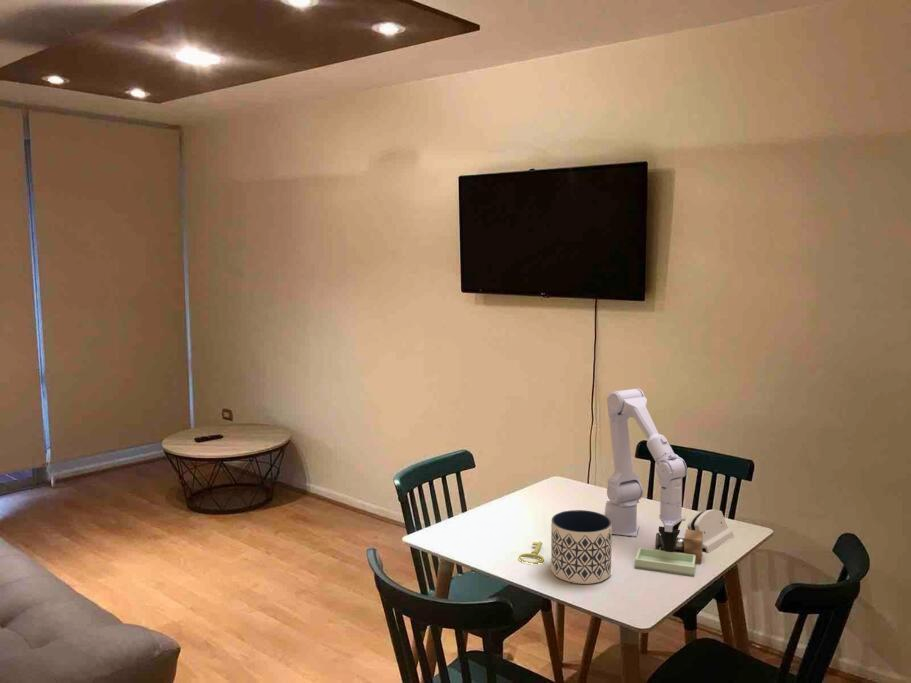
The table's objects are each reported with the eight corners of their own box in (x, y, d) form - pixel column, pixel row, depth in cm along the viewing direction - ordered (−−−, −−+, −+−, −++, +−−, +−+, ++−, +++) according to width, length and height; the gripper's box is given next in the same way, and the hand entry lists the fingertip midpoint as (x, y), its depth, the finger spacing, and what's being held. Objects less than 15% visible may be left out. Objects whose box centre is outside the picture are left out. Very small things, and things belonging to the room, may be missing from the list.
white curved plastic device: (707, 553, 206) (697, 518, 207) (693, 554, 209) (683, 519, 210) (734, 536, 217) (724, 503, 218) (720, 537, 221) (710, 505, 222)
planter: (622, 580, 190) (623, 527, 188) (566, 589, 186) (566, 535, 184) (593, 555, 205) (594, 507, 203) (541, 563, 201) (542, 513, 199)
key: (542, 547, 212) (542, 540, 212) (544, 566, 200) (544, 559, 200) (517, 547, 213) (517, 540, 212) (518, 566, 200) (518, 558, 200)
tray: (635, 568, 197) (635, 559, 197) (638, 555, 205) (638, 547, 204) (693, 576, 192) (694, 567, 191) (695, 563, 199) (695, 554, 199)
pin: (655, 552, 204) (655, 536, 204) (656, 545, 209) (657, 530, 208) (695, 557, 201) (695, 541, 200) (696, 550, 205) (696, 535, 204)
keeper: (659, 558, 203) (660, 535, 202) (661, 548, 210) (662, 526, 209) (700, 563, 199) (701, 540, 198) (702, 553, 206) (702, 531, 205)
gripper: (684, 511, 195) (683, 559, 197) (687, 494, 208) (686, 539, 210) (657, 508, 198) (656, 556, 199) (662, 491, 211) (661, 536, 213)
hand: (670, 547), depth 205 cm, fingers open, 6 cm apart
